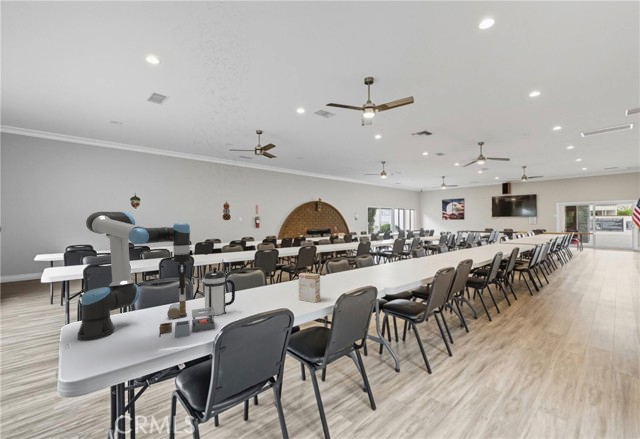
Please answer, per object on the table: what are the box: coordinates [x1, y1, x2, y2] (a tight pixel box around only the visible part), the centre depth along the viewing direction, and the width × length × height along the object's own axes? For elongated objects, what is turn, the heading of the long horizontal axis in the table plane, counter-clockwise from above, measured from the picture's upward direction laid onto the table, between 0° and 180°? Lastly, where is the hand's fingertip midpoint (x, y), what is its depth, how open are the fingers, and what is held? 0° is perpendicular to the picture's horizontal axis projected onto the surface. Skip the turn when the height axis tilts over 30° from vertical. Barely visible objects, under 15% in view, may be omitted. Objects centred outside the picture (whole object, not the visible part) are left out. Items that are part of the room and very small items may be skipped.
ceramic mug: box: [166, 302, 188, 320], centre depth 177 cm, size 11×8×8 cm
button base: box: [191, 307, 216, 333], centre depth 156 cm, size 11×11×10 cm
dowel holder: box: [159, 321, 173, 337], centre depth 150 cm, size 5×5×5 cm
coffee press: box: [201, 266, 236, 318], centre depth 180 cm, size 17×16×30 cm
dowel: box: [179, 286, 187, 319], centre depth 146 cm, size 3×3×20 cm
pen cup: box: [174, 320, 191, 338], centre depth 146 cm, size 7×7×7 cm
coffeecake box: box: [298, 272, 321, 304], centre depth 211 cm, size 15×7×20 cm, turn 58°
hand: (182, 299), depth 146 cm, fingers closed on dowel, 3 cm apart
